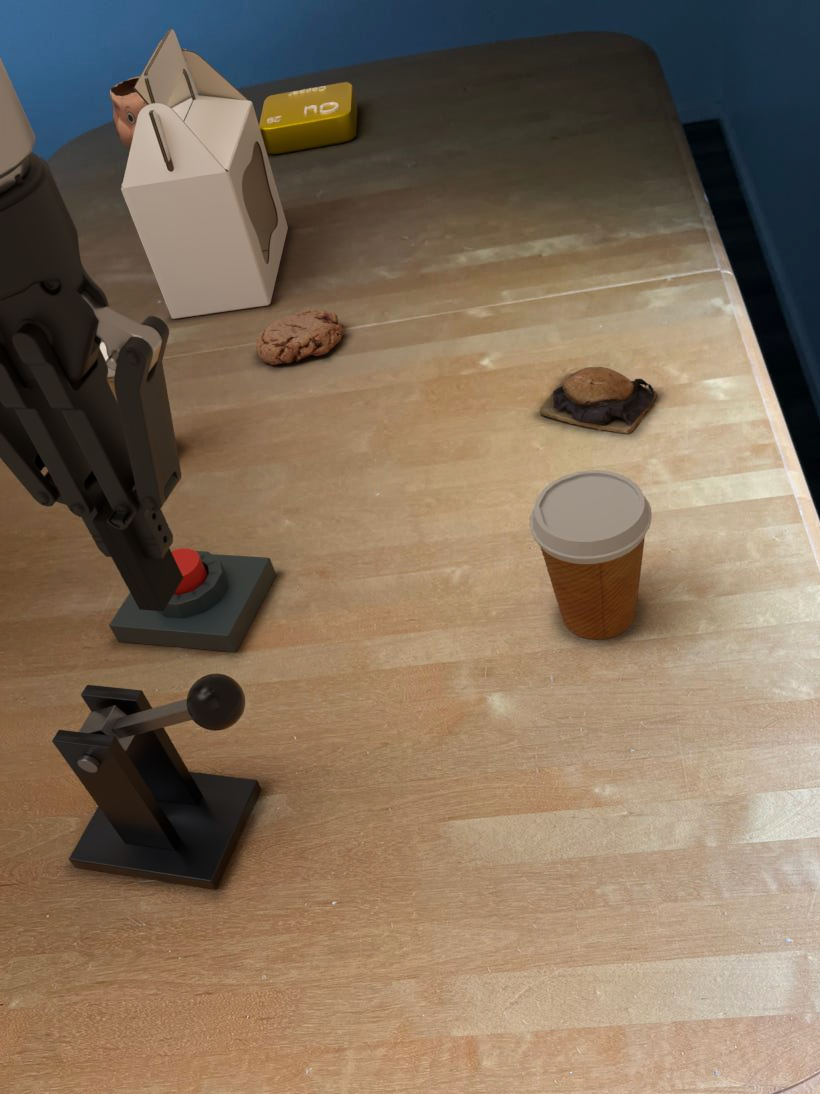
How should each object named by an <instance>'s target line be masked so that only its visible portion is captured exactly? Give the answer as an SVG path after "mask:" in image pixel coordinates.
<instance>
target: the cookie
mask: <svg viewBox="0 0 820 1094" xmlns="http://www.w3.org/2000/svg"><path fill="white" fill-rule="evenodd" d="M343 335H344V328H343V327H342V325H340V324H339V318H338V315H337V314H336V313H335V312H332V311H329V310H325V309H321V310H317V309H314V308H312V309H311V308H309V309H303V310H302V311H301V312H295V313H292V314H289V315H288V316H285V317H282V318H279V319H277V320H275V321H274V322H272V323H271V324H269V325H268V327H266V329H263V330H262V331H261V332H260V333H259V336H258V337H257V339H256V351H257V355H258V358H259V359H260V360H261V362H263V363H266V364H269V365H275V366H276V365H281V364H282V365H283V364H290V363H293V362H299V361H301V360H302V359H305V358H307V357H309V356H312V355H313V356H316V357H317V356H322V355H325V354H328V353H329V352H330V351H331V350H332V349H333V348H334V347H335V346H336V345H337V344H339V343H340V342H341V340H342V338H343Z"/></svg>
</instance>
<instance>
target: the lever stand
mask: <svg viewBox="0 0 820 1094" xmlns="http://www.w3.org/2000/svg"><path fill="white" fill-rule="evenodd" d="M80 696H81V698H82V699H83V701H84V703H85V704H86V706H87V708H88V709H89V710H90V713H91V712H93V711H97V710H100V709H104V708H107V707H111V706H114V705H116V706H117V707H118V708H119V709H121V710H122V711H123V712H124V713H125V714H126V715H131V714H134V713H138V712H141V711H145V710H149V709H152V708H153V706H152V705H151V703H150V701H149V700H148V698H147V696H146V695H145V692H144V691H143V690H142V689H134V688H132V689H131V688H124V687H113V686H105V685H95V684H86V685H85V687H84V688H83V690H82V692H81V694H80ZM51 743H52V744H53V745H54V746H55V748H56V749H57V750H58V752H59V753H60V755H61V756H62V758H63V760H65V761H66V764H67V765H69V767H70V768H71V770H72V771H73V773H74V774H75V775H76V777H77V778H78V780H79V781H80V783H81V784H82V786H83V787H84V788H85V790H86V791H87V792H88V794H89V796H91V798H92V799H93V801H94V803H95V804H96V805H97V808H96V809H95V812H94V813H93V815H92V817H91V819H90V820H89V822H88V824H87V826H86V827H85V829H84V831H83V833H82V834H81V837H80V838H79V840H78V842H77V843H76V845H75V847H74V849H73V851H72V853H71V854H70V856H69V858H68V860H69V862H70V863H71V865H72V866H73V867H74V868H77V869H83V870H89V871H95V872H96V871H97V872H103V873H108V874H116V875H122V876H128V877H134V878H140V879H146V880H154V881H159V882H166V883H171V884H177V885H178V884H179V885H185V886H192V887H197V888H198V887H199V888H205V889H210V890H217V889H218V887H219V885H220V883H221V880H222V878H223V876H224V873H225V871H226V869H227V867H228V865H229V863H230V860H231V858H232V855H233V853H234V851H235V849H236V846H237V844H238V842H239V840H240V838H241V835H242V833H243V832H244V829H245V828H246V827H245V826H246V825H247V822H248V820H249V818H250V815H251V813H252V811H253V809H254V807H255V805H256V804H255V803H257V800H258V798H259V795H260V793H261V791H262V786H261V785H260V783H259V780H258V779H251V778H245V777H244V778H243V777H235V776H228V775H219V774H213V773H204V772H197V771H196V772H195V771H190V770H189V769H188V767H187V765H186V764H185V762H184V760H183V759H182V756H181V755H180V753H179V751H178V749H177V748H176V746H175V744H174V743H173V741H172V739H171V738H170V736H169V734H168V733H167V731H166V729H165V727H164V728H160V729H156V730H152V731H148V732H145V733H141V734H137V735H135V736H134V738H133V739H132V741H131V743H130V745H129V747H128V748H127V750H126V751H125V750H124V749H123V747H122V746H121V744H120V743H119V741H118V739H117V738H116V737H115V736H109V735H100V734H92V733H83V732H79V731H74V730H67V729H66V730H65V729H58V730H57V732H56V733H55V736H53V738H52V740H51Z"/></svg>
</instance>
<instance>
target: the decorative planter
mask: <svg viewBox="0 0 820 1094" xmlns="http://www.w3.org/2000/svg"><path fill="white" fill-rule="evenodd" d="M140 76H141V75H139V76H135V77H131V78H128V79H126V80H123V81H121V82H119V83H117V84H115V85H114V86H112V87H110V90H109V98H110V101H111V104H112V106H113V110H112V120H113V124H114V129H115V130H116V134H117V136H118V138H119V139H120V141H121V143H122V144H123V145H124V147H126V148H127V149H128V150H129V151H130V148H131V144H132V140H133V135H134V131H135V126H136V122H137V117H138V114H139V112H140V111H141V109H142V108H144V107H145V106H147V104H146V103H145V101H144V100H143V99H142V98H141V97H140V96H139V94H138V93H137V92H136V91H135V90H134V89H133V88H134V87H135V85H136V83H137V81H138V79H139V78H140Z"/></svg>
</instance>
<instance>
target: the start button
mask: <svg viewBox="0 0 820 1094" xmlns="http://www.w3.org/2000/svg"><path fill="white" fill-rule="evenodd" d="M196 551H197V550H196V549H193V548H187V547H182V548H176V549H173V550H171V552H172V555H173V557H174V559H175V561H176V563H177V565H178V567H179V569H180V571H181V573H182V575H183V577H184V578H183V580H182V581H181V583H180V585H179V586H178V588H177V590H176V591H175V593H174V595H181V594H184V593H188V592H191V591H193V590H195V589H196V588H198V587H199V586H200V585H202V584H203V583H204V581H205V580H206V576H207V572H206V570H205V567H204V565H203V563H202V561H201V559H200V556H199V554H198V553H197V552H196Z"/></svg>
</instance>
